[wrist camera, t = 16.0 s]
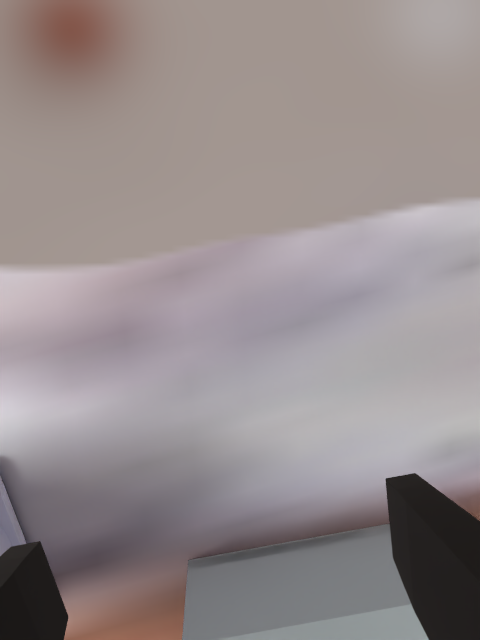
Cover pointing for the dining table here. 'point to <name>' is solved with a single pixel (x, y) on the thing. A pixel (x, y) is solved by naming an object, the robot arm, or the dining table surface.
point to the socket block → (302, 592)
